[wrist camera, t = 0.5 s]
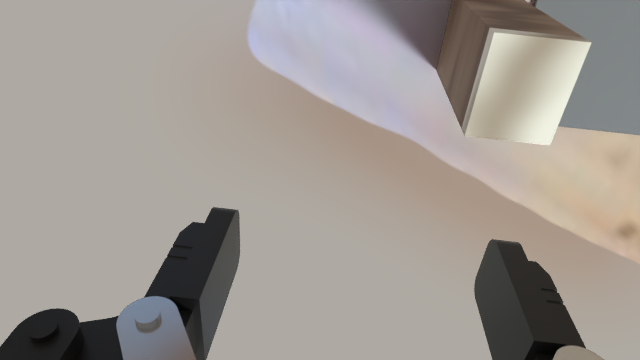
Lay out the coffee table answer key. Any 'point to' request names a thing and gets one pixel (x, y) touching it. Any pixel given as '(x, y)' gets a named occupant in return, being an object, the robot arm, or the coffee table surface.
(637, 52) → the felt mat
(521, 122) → the brown wooden block
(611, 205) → the coffee table surface
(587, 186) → the coffee table surface
